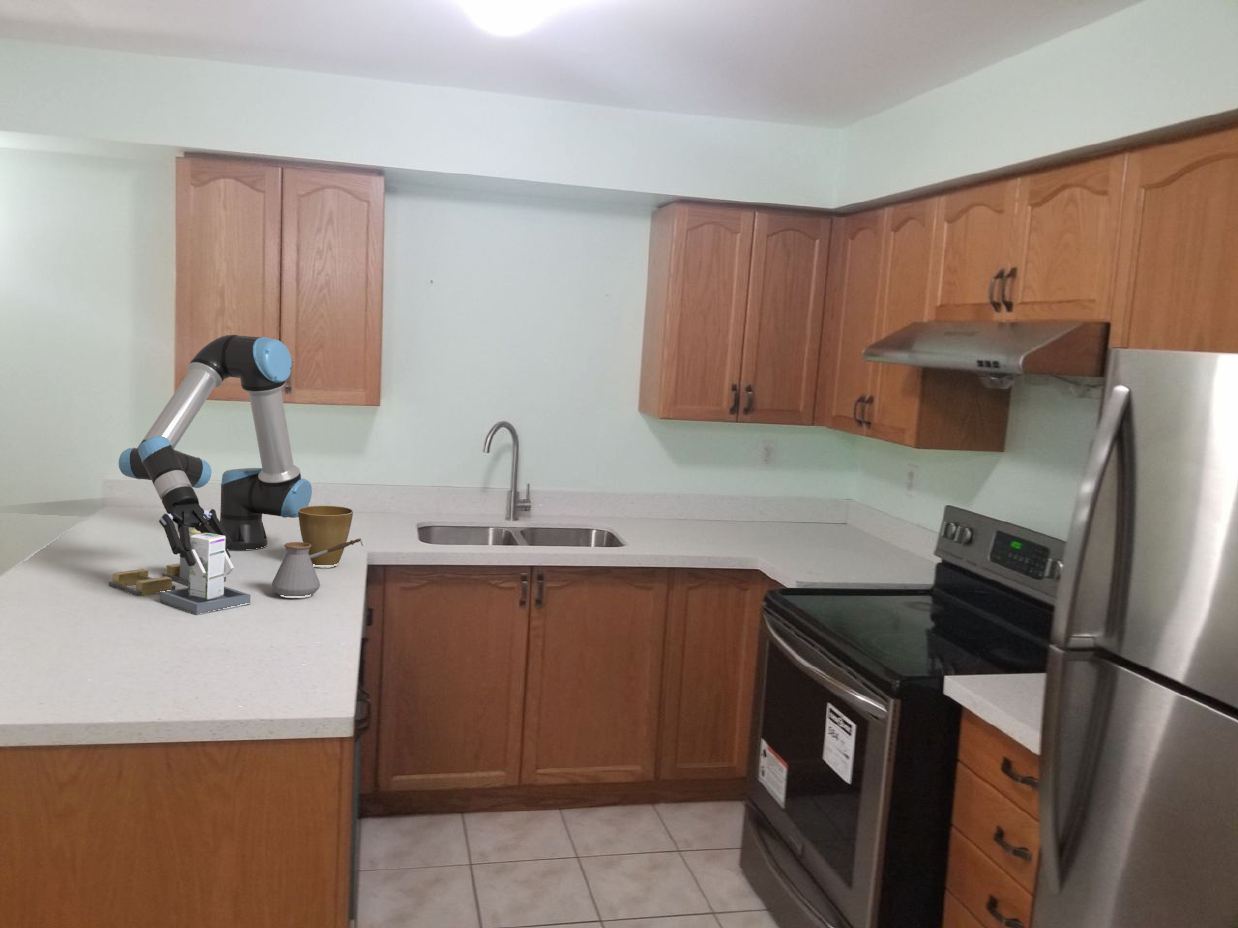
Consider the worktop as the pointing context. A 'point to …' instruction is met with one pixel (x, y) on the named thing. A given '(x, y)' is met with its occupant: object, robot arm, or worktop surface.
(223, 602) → the tray
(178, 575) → the clips
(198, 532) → the grey block
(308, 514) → the plant pot
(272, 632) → the worktop surface
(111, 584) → the tan block holder
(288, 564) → the coffee pot
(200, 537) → the syrup box
